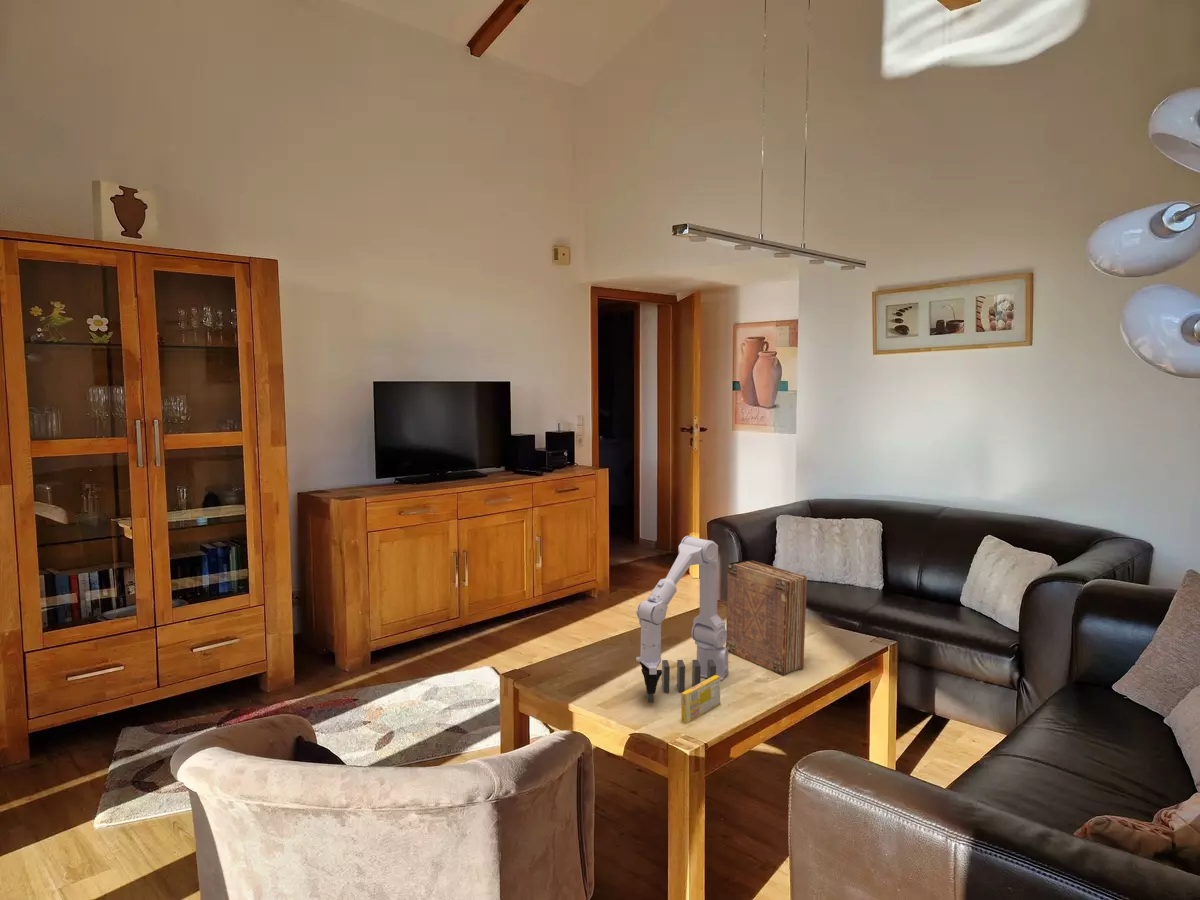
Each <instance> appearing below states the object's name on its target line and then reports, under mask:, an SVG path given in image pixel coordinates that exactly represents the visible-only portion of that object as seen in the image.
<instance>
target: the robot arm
mask: <svg viewBox="0 0 1200 900" xmlns="http://www.w3.org/2000/svg"><path fill="white" fill-rule="evenodd" d="M677 549H678V550H677V551H678V555H677V557H676V558H675V560H674V562H673V563H672V566H671V568H670V569H669V571H668V573H667V575H666V576H665V577H664V578H661V579H659V581H658V582H657V584H656V585H655V587H654V588H653V589H652V591H651V593H650V594H649V595H648V597H647V599H644V600H642V601H641V602H640V603H639V604H638V606H637V610H636V612H635V613H636V617H637V618H638V624H639V626H640V656H636V658H635V659H636V662H639V664H640V666H641V673H642V676H643V680H644V685H645V690H646V689H647V693H648V694H654V695H655V694H656V691H657V688H658V687H657V686H658V683H659V679H660V677H662V669H658V667H659V665H660V664H661V663H662V656H661V655H662V622H664V620H665V619H666V615H667V611H668V608H669V607H668V605H669V604H670V602H671V600H672V599H673V597H674V596H675V594H676V593H677V584H678V583H679V581H680V580H681V579H682V577H683V576H684V575H685V573H686V572H687V571H688V569H689V568H690V567H691V566H695V565H696V566H697V565H698V566H699V614H698V615H697V616H695V617H694V618H693V623H692V627H691V631H690V632H691V638H692V640H694V644H695V645H696V660H698V661H699V664H700V666H701V676H700V678H706V679H707V661H708V660H713V661H714V663H715V665H716V675H717V676H720V681H724V678H726V675H727V674H728V673H729V652H728V648H726V646H725V647H724V645H726V639H727V632H726V623H725V621H724V620H723V619H722V618H721V617H720V616H719V615H718V567H719V565H718V564H719V545H718V544H717V543H716V542H715V541H714V540H709V539H705V538H704V539H703V538H698V537H694V536H691V535H686V536H684V537H683V538H682V539H681V542H680V543H679V545H678V548H677Z"/></svg>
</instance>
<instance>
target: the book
mask: <svg viewBox="0 0 1200 900" xmlns="http://www.w3.org/2000/svg"><path fill="white" fill-rule="evenodd" d="M726 577H727V580H726V581H727V582H726V583H727V586H726V587H727V588H726V623H725V629H726V632H727V639H726V642H725V648H728V654H729V653H730V654H732V655H734V656H736V657H739V658H741V659H743V660H745V661H748V662H750V663H752V664H754V665H756V666H760V667H761V668H763V669H766V670H768V671H770V672H772V673H775V674H777V675H779V676H782V677H785V675H786V673H790V672H793V671H797V670H801V671H802V670H804V666H805V665H804V664H805V662H804V661H805V639H806V638H805V637H806V615H807V614H806V612H807V610H806V607H807V585H808V583H807V582H808V577H807V575H804V574H800V573H797V572H794V571H790V570H787V569H782V568H780V567H776V566H773V565H769V564H765V563H763V562H759V561H756V560H751V559H744V560H739V561H735V562H730V563H727V576H726Z"/></svg>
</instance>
